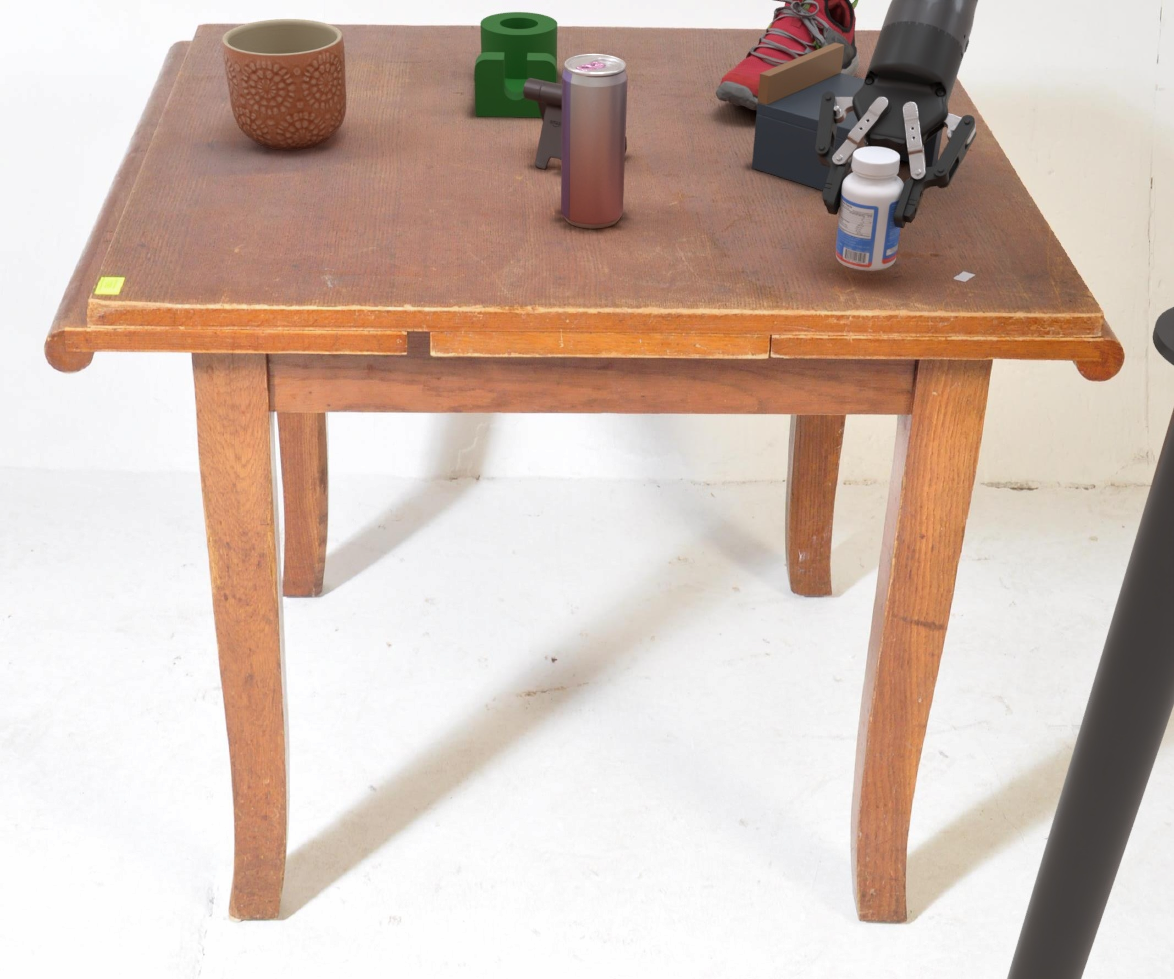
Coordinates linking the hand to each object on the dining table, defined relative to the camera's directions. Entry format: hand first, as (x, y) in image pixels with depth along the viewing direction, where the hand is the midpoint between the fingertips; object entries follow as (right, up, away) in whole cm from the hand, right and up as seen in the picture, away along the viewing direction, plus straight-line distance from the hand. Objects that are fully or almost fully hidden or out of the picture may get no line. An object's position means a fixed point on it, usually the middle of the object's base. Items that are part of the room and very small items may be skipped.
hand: (864, 217), depth 124 cm
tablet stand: (-25, +11, +27) cm, 38 cm away
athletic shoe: (0, +22, +44) cm, 49 cm away
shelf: (+3, +10, +27) cm, 29 cm away
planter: (-56, +14, +30) cm, 65 cm away
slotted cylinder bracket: (-32, +23, +44) cm, 60 cm away
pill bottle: (+1, -3, +4) cm, 5 cm away
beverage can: (-23, +3, +15) cm, 28 cm away
